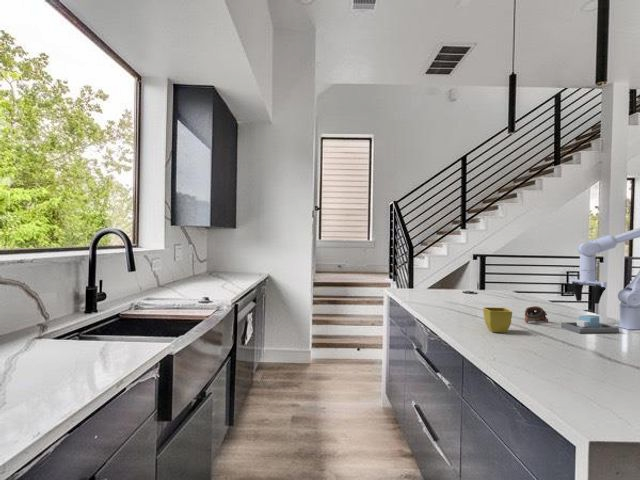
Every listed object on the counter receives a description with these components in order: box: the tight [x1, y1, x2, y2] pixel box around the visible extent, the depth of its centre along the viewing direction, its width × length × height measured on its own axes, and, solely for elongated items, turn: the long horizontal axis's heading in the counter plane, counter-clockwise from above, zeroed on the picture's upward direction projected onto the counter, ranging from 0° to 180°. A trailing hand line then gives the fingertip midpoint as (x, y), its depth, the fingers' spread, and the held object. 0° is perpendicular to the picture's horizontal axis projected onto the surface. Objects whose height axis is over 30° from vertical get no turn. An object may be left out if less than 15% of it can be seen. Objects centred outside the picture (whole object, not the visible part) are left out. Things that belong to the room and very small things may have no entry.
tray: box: [560, 321, 620, 335], centre depth 164 cm, size 16×12×2 cm
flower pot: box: [483, 306, 513, 334], centre depth 162 cm, size 9×9×9 cm
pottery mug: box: [524, 306, 549, 324], centre depth 179 cm, size 12×10×8 cm
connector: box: [576, 314, 600, 328], centre depth 164 cm, size 10×4×5 cm, turn 113°
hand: (587, 302), depth 173 cm, fingers open, 7 cm apart
